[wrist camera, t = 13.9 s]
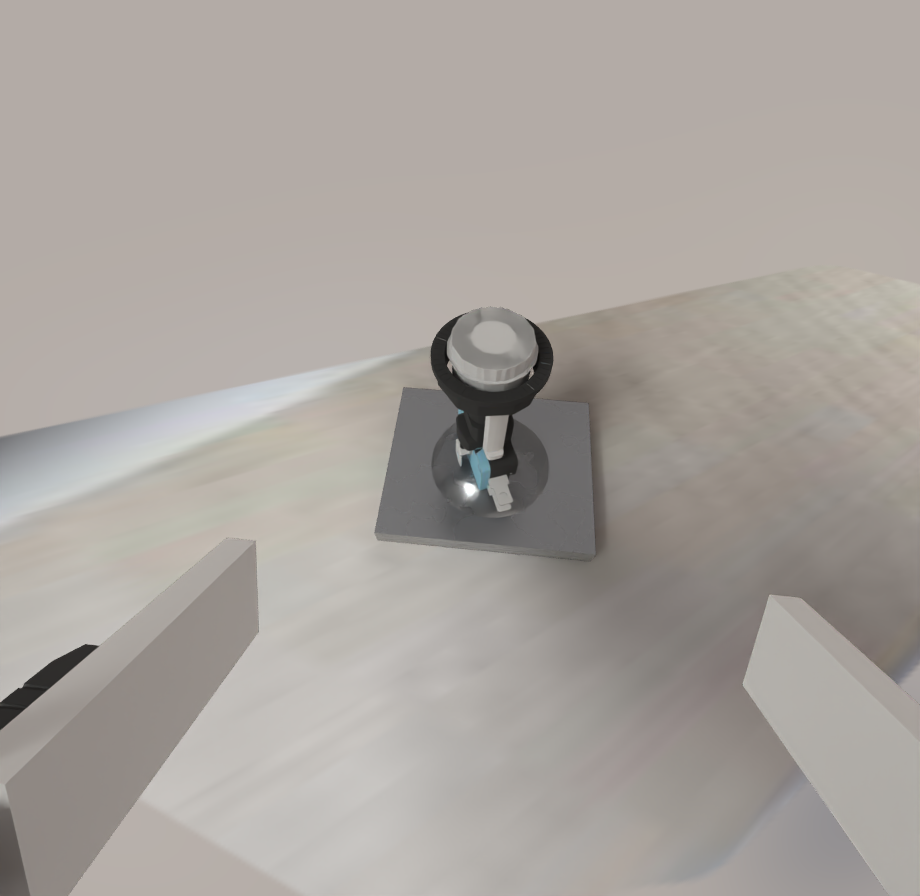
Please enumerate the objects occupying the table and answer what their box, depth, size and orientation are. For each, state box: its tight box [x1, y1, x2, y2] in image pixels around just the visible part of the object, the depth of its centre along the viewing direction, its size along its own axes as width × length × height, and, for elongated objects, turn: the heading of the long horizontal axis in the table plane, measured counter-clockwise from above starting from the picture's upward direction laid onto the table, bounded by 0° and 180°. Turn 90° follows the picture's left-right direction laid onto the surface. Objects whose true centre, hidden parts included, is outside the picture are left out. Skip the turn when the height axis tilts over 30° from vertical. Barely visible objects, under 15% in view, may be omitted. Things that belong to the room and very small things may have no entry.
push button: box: [431, 307, 553, 512], centre depth 24 cm, size 7×5×10 cm
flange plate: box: [375, 387, 596, 561], centre depth 29 cm, size 12×10×1 cm
